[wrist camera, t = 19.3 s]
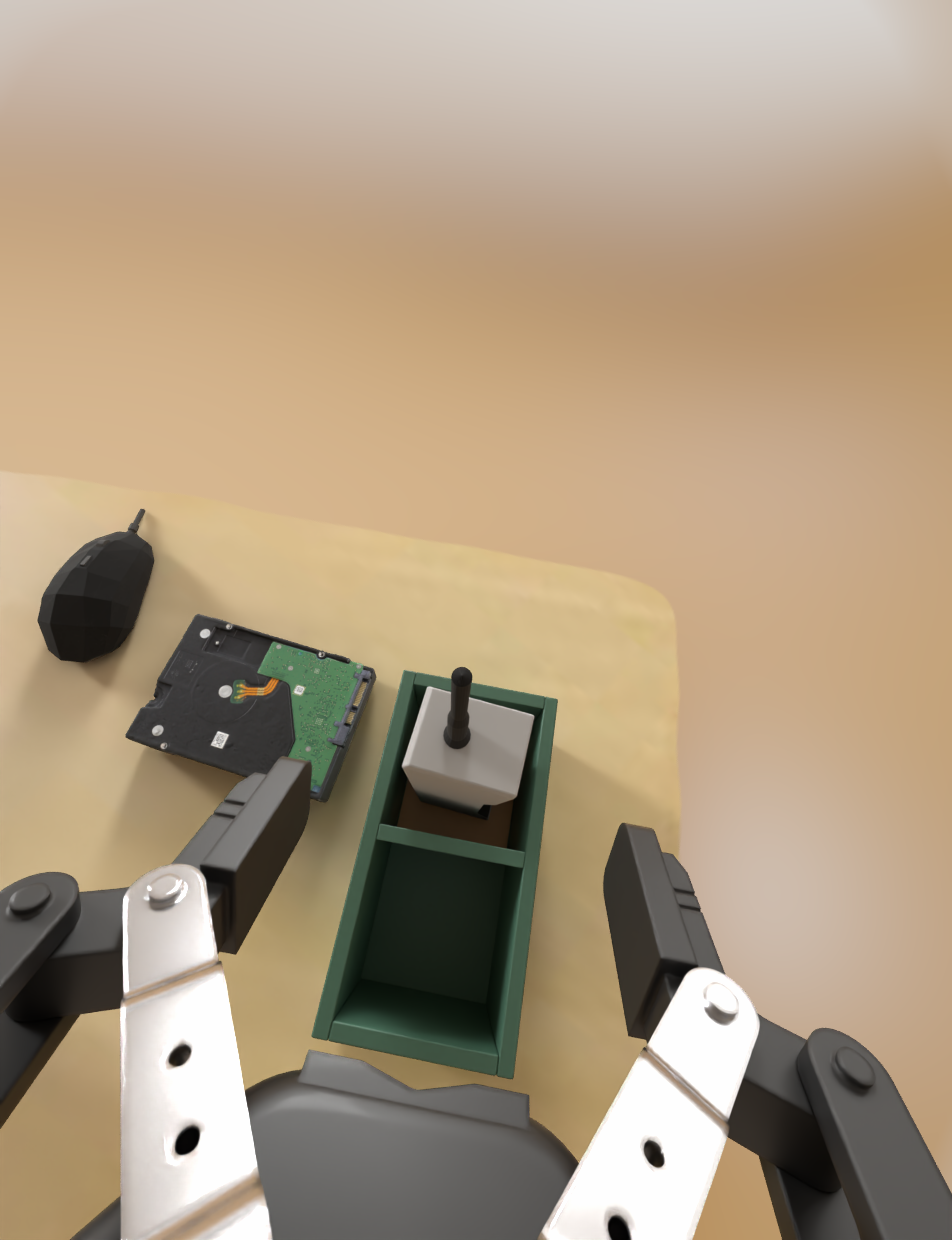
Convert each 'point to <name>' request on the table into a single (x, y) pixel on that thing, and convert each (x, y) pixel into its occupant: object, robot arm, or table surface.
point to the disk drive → (255, 703)
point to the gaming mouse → (96, 596)
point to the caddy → (440, 908)
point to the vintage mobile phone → (466, 750)
